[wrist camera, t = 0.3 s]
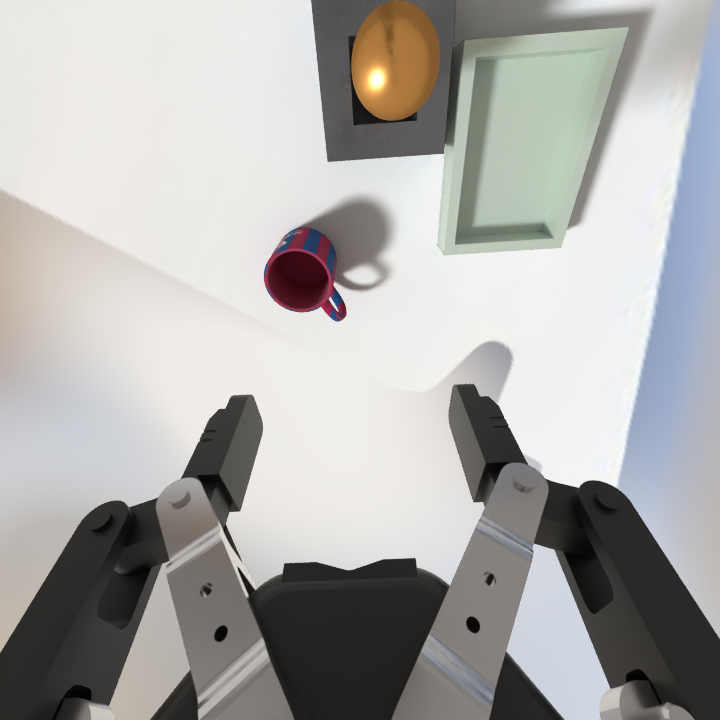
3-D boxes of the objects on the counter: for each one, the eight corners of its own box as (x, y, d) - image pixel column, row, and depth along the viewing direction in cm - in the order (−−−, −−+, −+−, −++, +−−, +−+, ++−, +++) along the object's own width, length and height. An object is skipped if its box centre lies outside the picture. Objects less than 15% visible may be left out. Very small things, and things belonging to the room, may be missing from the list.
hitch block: (315, 6, 25) (310, -11, 22) (444, -4, 25) (458, -24, 21) (330, 157, 31) (327, 161, 28) (434, 150, 31) (443, 153, 27)
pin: (350, 48, 26) (347, 4, 17) (411, 43, 26) (444, -4, 17) (354, 123, 29) (354, 123, 20) (409, 119, 29) (436, 117, 20)
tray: (453, 48, 26) (464, 40, 24) (600, 37, 26) (629, 26, 23) (437, 245, 36) (443, 255, 33) (545, 238, 36) (561, 247, 33)
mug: (312, 215, 34) (304, 232, 28) (362, 289, 39) (363, 316, 33) (265, 249, 36) (249, 271, 30) (318, 315, 41) (312, 345, 36)
